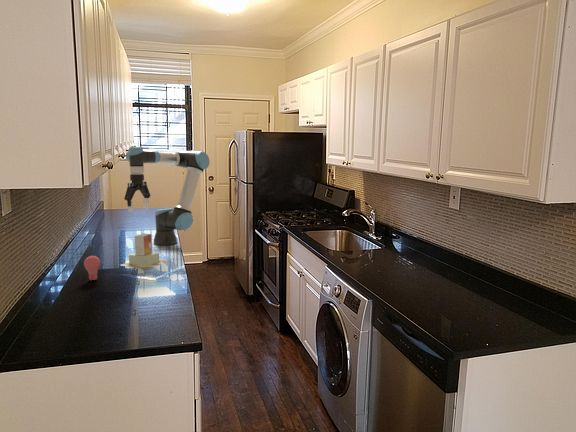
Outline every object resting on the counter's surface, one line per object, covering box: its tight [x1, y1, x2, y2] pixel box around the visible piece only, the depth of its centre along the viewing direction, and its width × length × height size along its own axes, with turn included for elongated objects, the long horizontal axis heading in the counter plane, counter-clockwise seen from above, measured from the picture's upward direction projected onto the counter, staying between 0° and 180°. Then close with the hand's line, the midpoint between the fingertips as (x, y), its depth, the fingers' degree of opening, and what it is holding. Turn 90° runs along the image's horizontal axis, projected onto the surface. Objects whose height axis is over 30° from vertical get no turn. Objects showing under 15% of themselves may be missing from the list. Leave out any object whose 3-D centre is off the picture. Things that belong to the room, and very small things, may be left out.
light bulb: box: [83, 255, 101, 281], centre depth 208 cm, size 7×7×12 cm
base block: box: [128, 251, 160, 266], centre depth 236 cm, size 10×12×5 cm
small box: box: [134, 233, 153, 256], centre depth 235 cm, size 8×6×10 cm
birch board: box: [119, 259, 169, 270], centre depth 237 cm, size 18×18×1 cm
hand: (138, 210), depth 254 cm, fingers open, 13 cm apart
